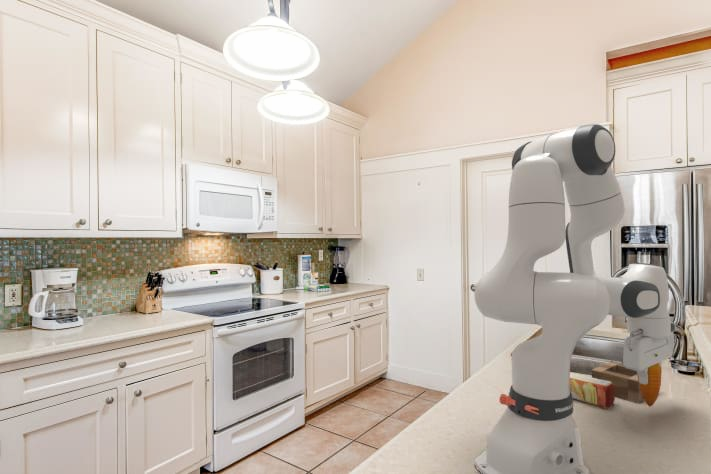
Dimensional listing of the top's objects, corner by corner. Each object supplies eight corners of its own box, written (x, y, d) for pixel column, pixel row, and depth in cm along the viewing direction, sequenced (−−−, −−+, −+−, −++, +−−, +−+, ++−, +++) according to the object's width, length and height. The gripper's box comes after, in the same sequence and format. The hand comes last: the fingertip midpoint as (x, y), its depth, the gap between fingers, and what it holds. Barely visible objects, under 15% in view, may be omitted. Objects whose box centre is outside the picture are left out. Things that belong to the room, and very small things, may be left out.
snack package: (530, 388, 122) (529, 366, 122) (541, 383, 126) (540, 361, 126) (606, 412, 105) (605, 386, 105) (617, 405, 108) (616, 380, 108)
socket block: (638, 403, 108) (638, 381, 108) (592, 390, 118) (591, 369, 118) (656, 392, 115) (656, 371, 115) (611, 380, 125) (610, 361, 125)
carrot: (661, 405, 103) (660, 346, 103) (662, 412, 99) (661, 351, 99) (637, 400, 106) (636, 343, 106) (638, 407, 102) (637, 348, 102)
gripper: (644, 334, 94) (645, 394, 94) (678, 323, 105) (680, 376, 105) (614, 330, 99) (616, 386, 99) (650, 319, 111) (651, 370, 110)
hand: (649, 381), depth 102 cm, fingers closed on carrot, 4 cm apart
